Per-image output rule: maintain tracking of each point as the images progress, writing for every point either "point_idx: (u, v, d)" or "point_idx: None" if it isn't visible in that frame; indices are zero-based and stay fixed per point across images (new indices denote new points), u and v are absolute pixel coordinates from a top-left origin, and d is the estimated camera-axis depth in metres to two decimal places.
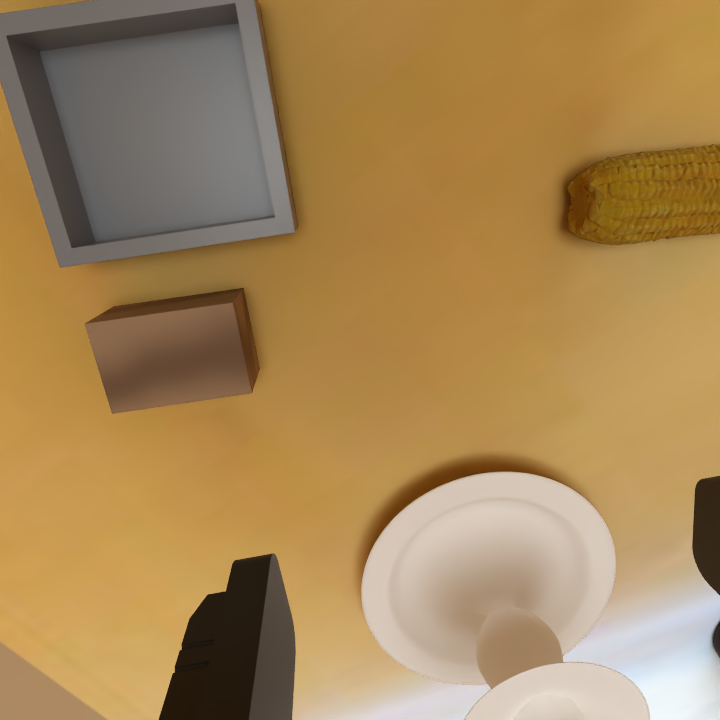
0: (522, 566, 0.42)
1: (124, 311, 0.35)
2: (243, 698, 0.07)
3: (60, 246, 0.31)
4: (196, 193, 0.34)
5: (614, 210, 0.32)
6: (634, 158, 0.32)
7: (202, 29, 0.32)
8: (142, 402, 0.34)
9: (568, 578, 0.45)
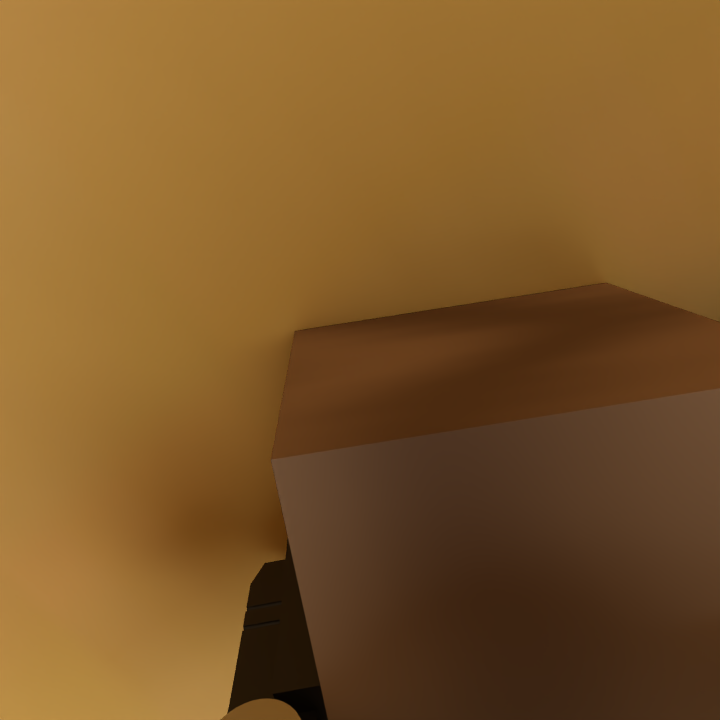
0: None
1: None
2: None
3: None
4: None
5: None
6: None
7: None
8: (346, 611, 0.06)
9: None
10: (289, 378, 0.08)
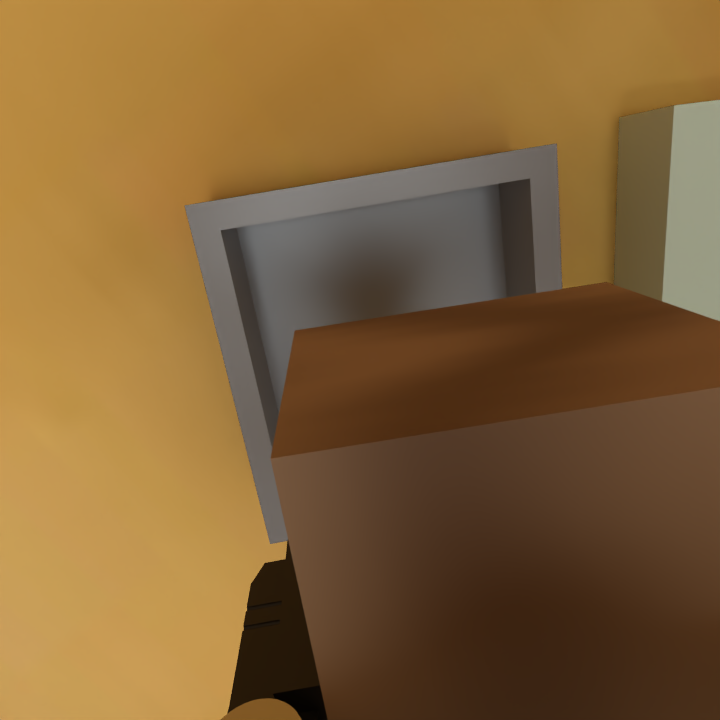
0: None
1: None
2: None
3: (221, 211, 0.19)
4: None
5: None
6: None
7: None
8: (346, 611, 0.06)
9: None
10: (289, 377, 0.08)
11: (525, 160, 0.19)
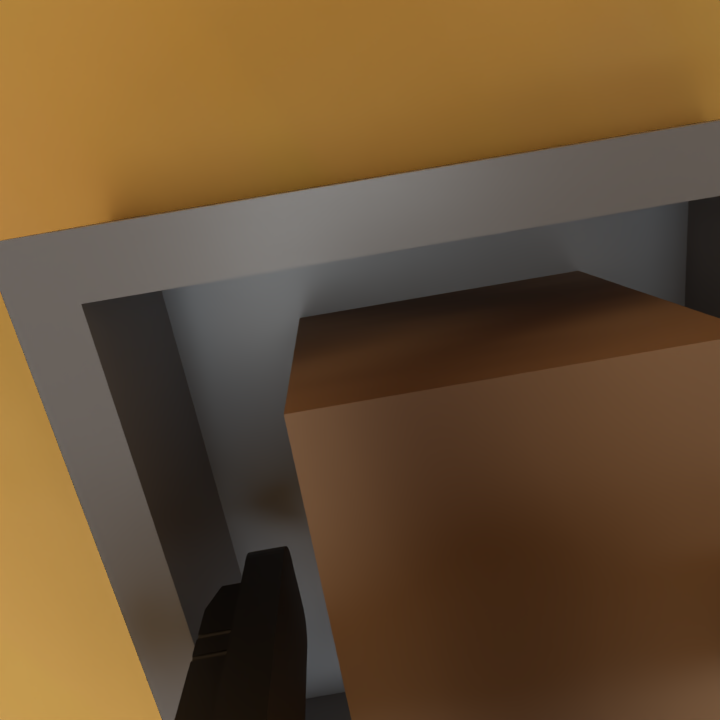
0: None
1: None
2: (262, 684, 0.07)
3: (78, 258, 0.07)
4: None
5: None
6: None
7: None
8: (348, 544, 0.07)
9: None
10: (296, 355, 0.09)
11: None
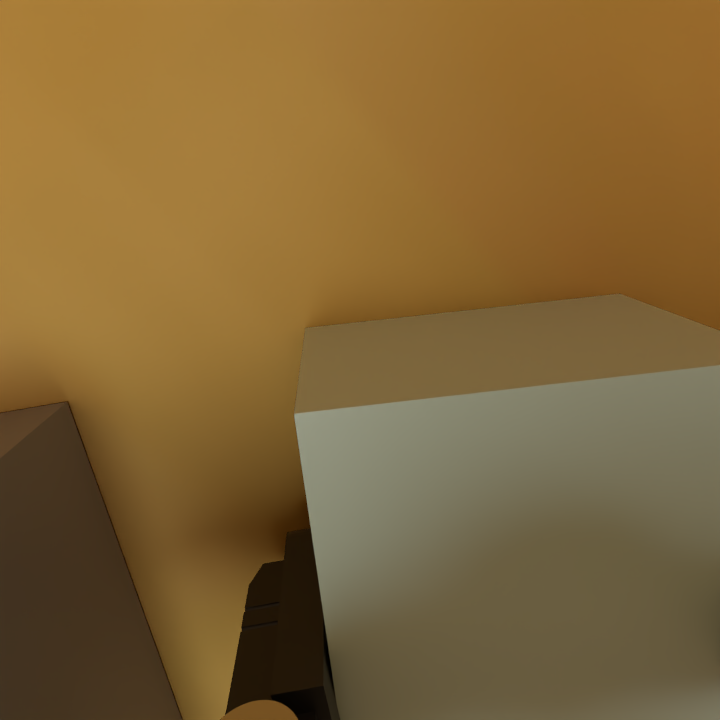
0: None
1: None
2: (315, 649, 0.07)
3: None
4: None
5: None
6: None
7: None
8: None
9: None
10: None
11: None
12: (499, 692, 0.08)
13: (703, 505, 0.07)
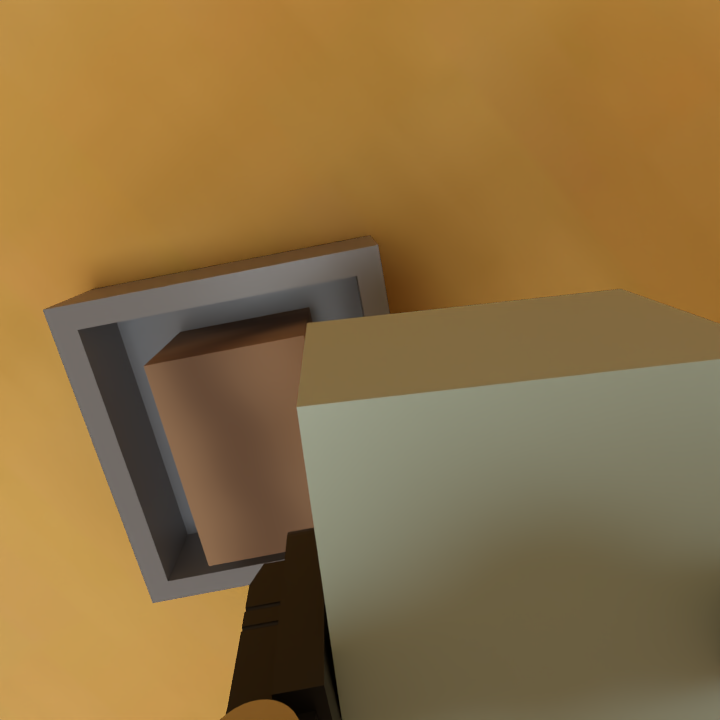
0: None
1: None
2: (316, 648, 0.07)
3: (76, 314, 0.21)
4: None
5: None
6: None
7: None
8: (172, 413, 0.20)
9: None
10: (164, 347, 0.22)
11: (350, 260, 0.20)
12: (501, 687, 0.08)
13: (706, 499, 0.07)
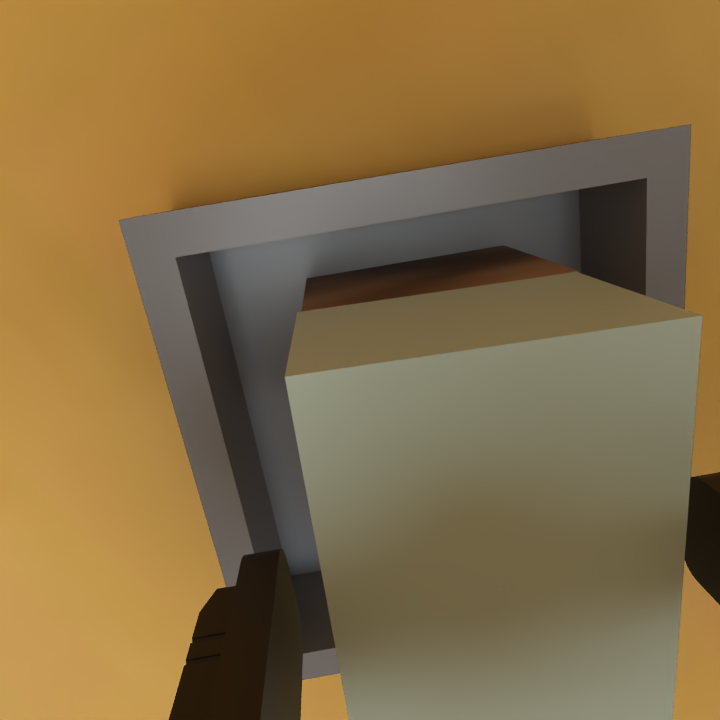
0: None
1: None
2: (256, 689, 0.07)
3: (175, 228, 0.12)
4: None
5: None
6: None
7: None
8: None
9: None
10: (305, 295, 0.14)
11: (641, 150, 0.12)
12: (472, 618, 0.09)
13: (637, 446, 0.08)
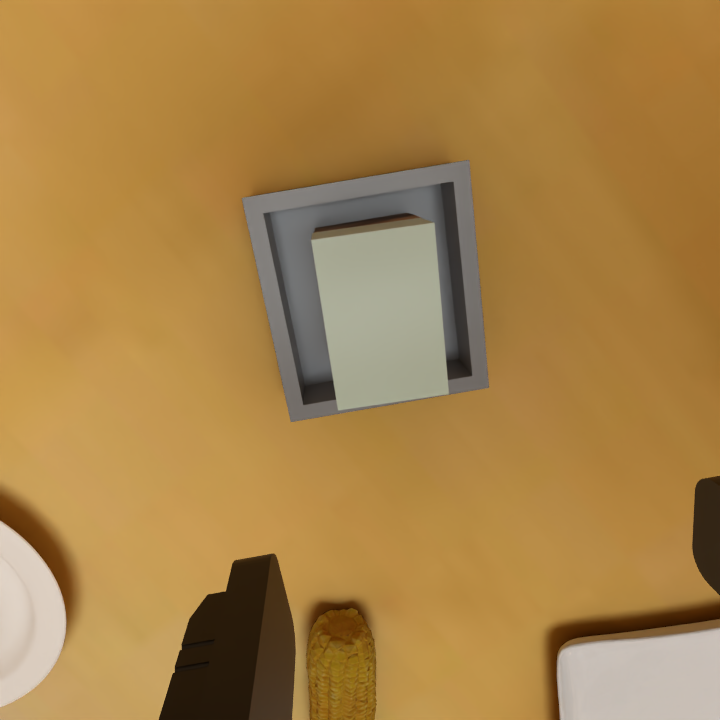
0: None
1: None
2: (243, 698, 0.07)
3: (263, 201, 0.30)
4: (320, 312, 0.36)
5: (337, 663, 0.40)
6: (373, 664, 0.42)
7: (454, 325, 0.37)
8: None
9: None
10: (315, 231, 0.32)
11: (450, 170, 0.31)
12: (371, 327, 0.27)
13: (420, 265, 0.27)
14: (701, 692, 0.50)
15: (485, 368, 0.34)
